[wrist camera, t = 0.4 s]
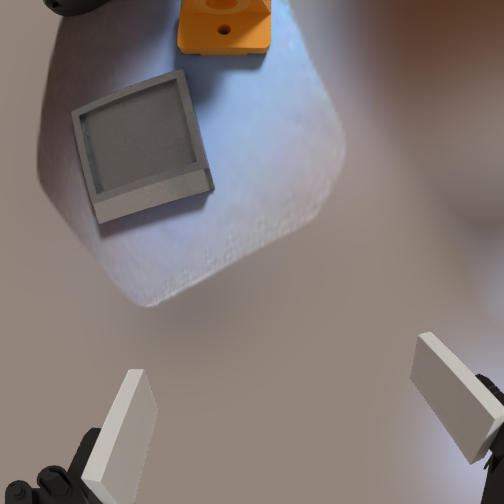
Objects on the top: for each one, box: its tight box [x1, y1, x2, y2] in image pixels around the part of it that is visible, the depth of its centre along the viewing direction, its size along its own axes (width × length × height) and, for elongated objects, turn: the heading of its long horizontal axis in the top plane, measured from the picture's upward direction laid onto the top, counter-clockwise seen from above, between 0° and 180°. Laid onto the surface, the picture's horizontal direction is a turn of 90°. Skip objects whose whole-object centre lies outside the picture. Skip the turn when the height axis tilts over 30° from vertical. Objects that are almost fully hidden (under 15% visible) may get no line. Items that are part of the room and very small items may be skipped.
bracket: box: [177, 0, 271, 56], centre depth 26 cm, size 11×7×12 cm, turn 89°
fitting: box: [71, 68, 215, 224], centre depth 34 cm, size 15×15×2 cm
